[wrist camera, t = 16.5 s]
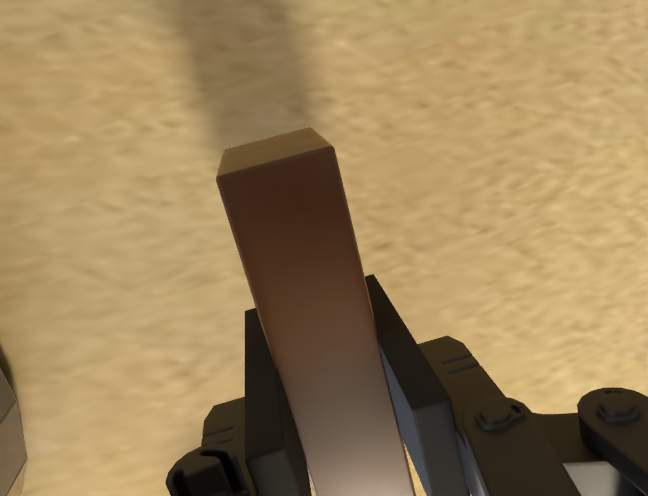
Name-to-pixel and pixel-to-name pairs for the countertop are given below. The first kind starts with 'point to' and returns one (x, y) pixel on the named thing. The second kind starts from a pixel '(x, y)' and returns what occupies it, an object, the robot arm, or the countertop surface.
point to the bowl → (11, 443)
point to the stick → (315, 310)
